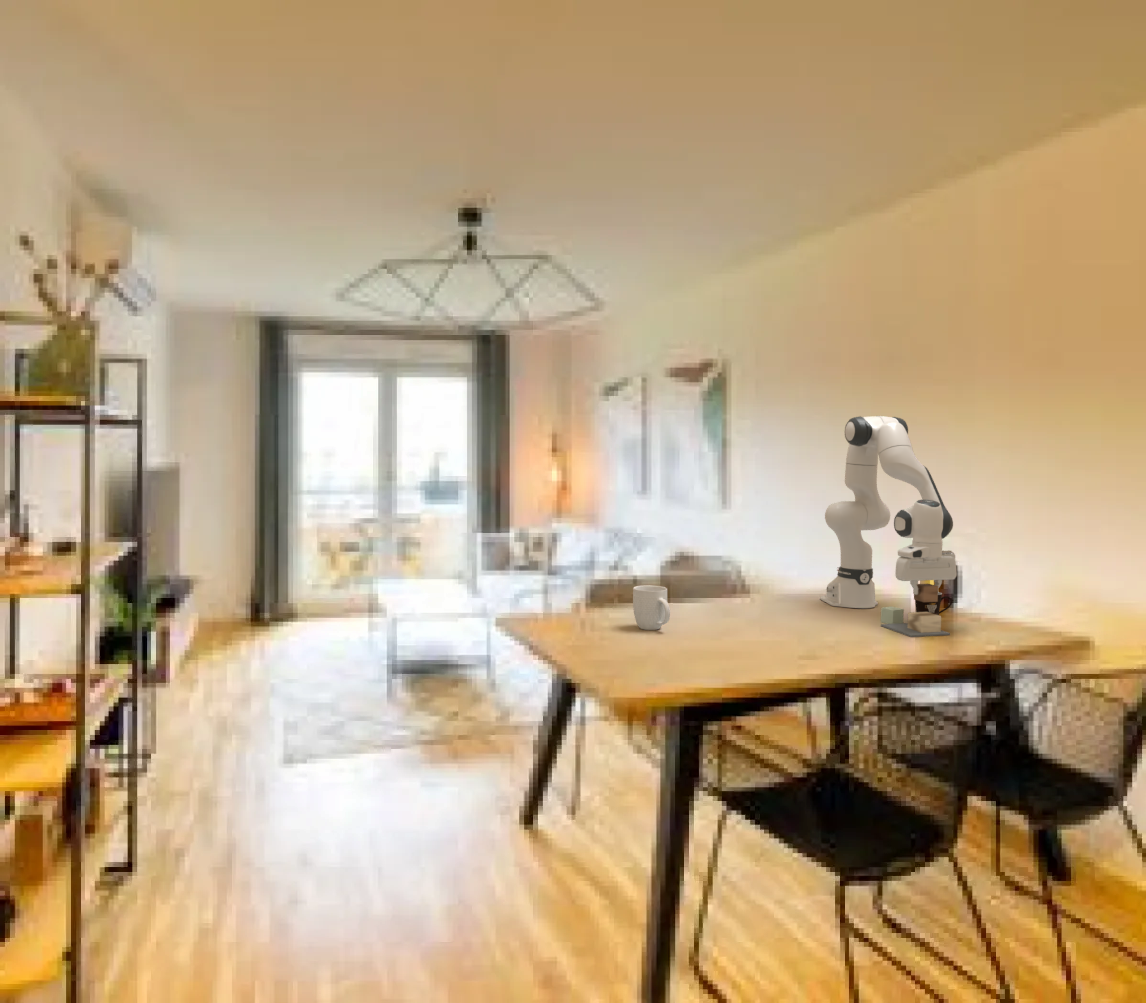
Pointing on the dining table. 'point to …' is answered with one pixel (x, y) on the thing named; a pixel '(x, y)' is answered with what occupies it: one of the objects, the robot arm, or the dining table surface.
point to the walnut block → (927, 593)
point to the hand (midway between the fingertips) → (925, 594)
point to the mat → (905, 630)
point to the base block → (924, 622)
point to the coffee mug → (932, 605)
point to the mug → (650, 606)
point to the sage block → (891, 615)
